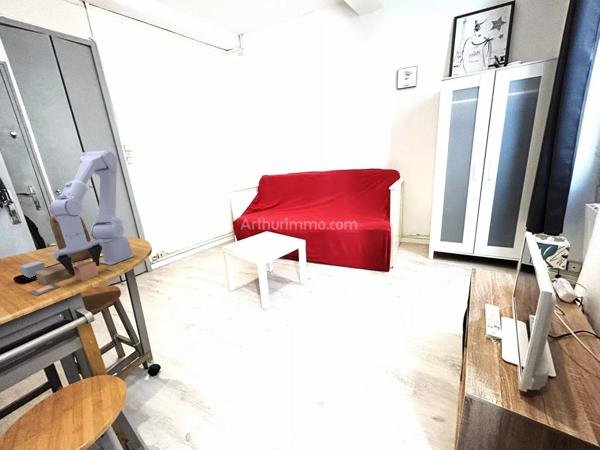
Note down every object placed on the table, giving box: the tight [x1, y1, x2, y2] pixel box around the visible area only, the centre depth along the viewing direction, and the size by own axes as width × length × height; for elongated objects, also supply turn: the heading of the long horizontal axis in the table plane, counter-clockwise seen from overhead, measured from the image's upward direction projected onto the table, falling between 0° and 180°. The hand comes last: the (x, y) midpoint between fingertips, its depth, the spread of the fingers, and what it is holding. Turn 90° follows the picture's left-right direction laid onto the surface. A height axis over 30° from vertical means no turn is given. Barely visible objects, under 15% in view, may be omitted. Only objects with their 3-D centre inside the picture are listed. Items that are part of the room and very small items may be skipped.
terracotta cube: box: [72, 260, 100, 282], centre depth 94 cm, size 5×5×5 cm
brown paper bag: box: [49, 214, 92, 263], centre depth 111 cm, size 11×8×20 cm
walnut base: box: [35, 263, 75, 286], centre depth 94 cm, size 8×8×4 cm
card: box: [28, 283, 61, 297], centre depth 87 cm, size 6×6×1 cm
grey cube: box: [19, 260, 46, 278], centre depth 97 cm, size 5×5×5 cm
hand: (85, 270), depth 94 cm, fingers open, 7 cm apart
